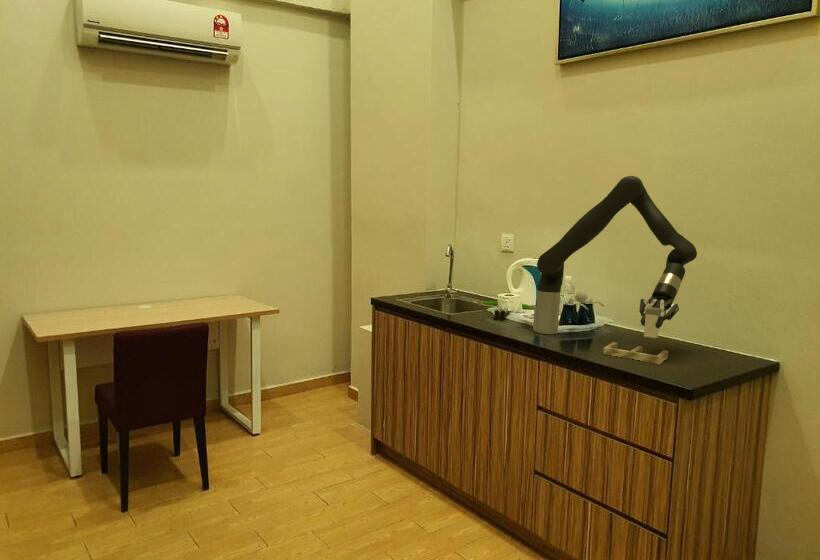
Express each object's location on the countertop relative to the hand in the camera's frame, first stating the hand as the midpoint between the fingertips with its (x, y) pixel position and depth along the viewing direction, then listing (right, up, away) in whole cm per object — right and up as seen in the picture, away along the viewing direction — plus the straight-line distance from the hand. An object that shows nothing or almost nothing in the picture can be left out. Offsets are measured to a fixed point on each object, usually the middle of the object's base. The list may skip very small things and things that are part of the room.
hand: (649, 325), depth 225 cm
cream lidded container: (+1, -4, +2) cm, 5 cm away
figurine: (-41, -1, +74) cm, 84 cm away
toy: (-10, -4, +57) cm, 58 cm away
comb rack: (-3, -11, +6) cm, 13 cm away
